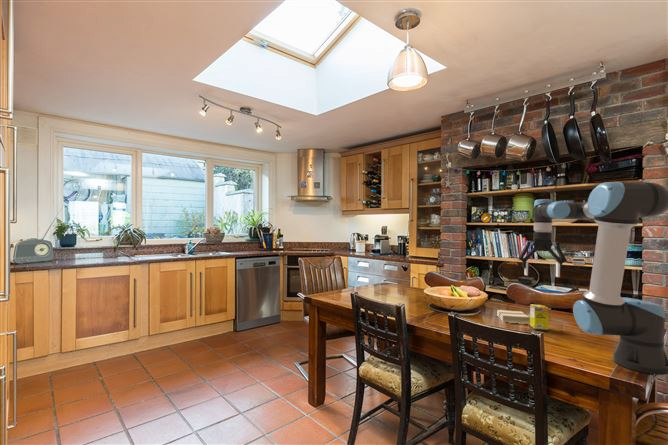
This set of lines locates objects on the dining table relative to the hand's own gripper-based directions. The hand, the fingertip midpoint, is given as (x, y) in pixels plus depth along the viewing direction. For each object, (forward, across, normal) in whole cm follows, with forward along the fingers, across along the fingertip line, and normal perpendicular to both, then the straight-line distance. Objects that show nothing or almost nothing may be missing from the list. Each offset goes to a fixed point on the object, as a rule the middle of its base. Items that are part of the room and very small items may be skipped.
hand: (541, 276), depth 163 cm
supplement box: (+25, +2, +2) cm, 25 cm away
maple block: (+25, +10, -10) cm, 29 cm away
